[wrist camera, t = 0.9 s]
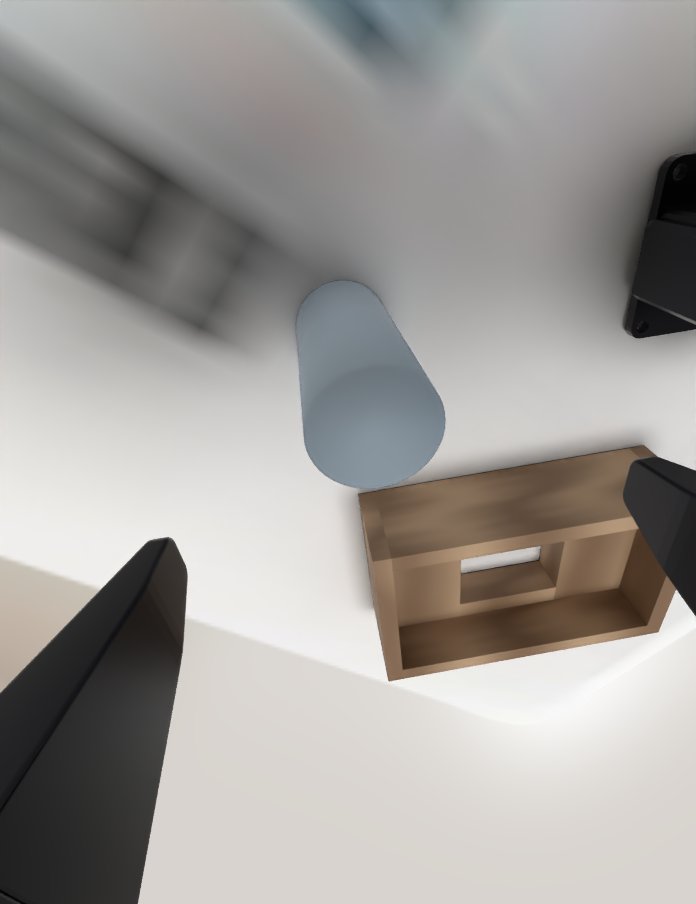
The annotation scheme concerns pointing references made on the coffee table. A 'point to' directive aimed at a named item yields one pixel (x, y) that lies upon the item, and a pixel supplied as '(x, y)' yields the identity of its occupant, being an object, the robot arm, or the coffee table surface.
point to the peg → (362, 390)
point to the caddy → (517, 586)
